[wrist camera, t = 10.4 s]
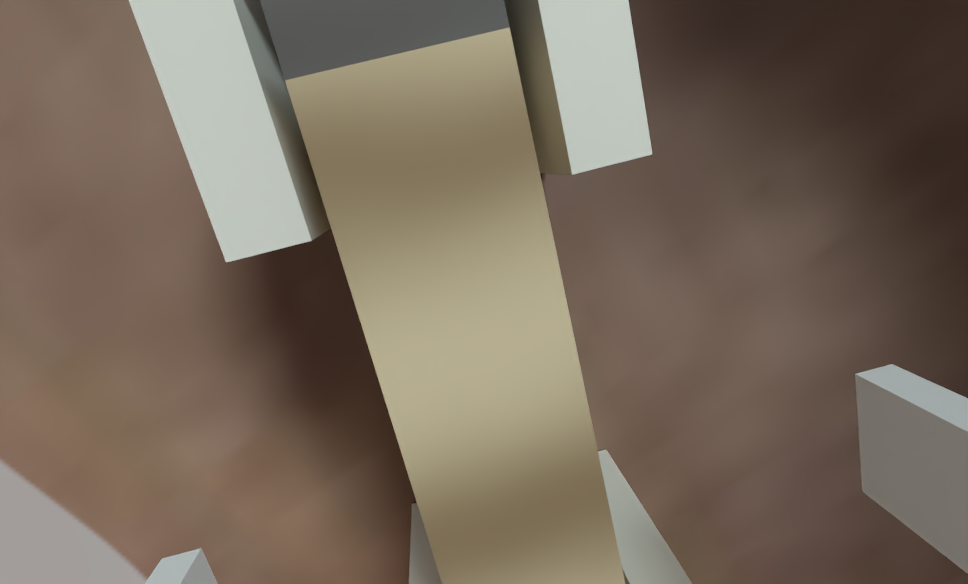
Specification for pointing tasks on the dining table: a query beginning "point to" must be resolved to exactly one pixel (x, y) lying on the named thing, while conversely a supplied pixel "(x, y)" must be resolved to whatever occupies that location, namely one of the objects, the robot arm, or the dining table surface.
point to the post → (641, 547)
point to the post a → (277, 136)
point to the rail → (454, 278)
